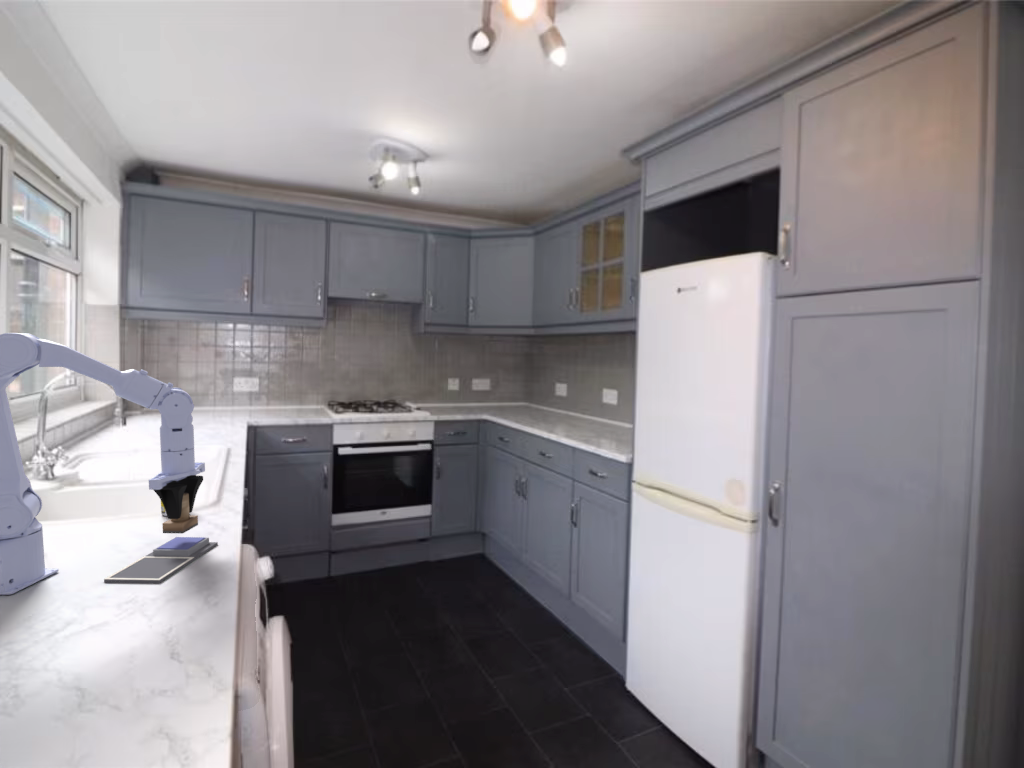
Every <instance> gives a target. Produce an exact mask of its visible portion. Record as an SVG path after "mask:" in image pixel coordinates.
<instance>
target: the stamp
mask: <svg viewBox="0 0 1024 768" xmlns="http://www.w3.org/2000/svg"><path fill="white" fill-rule="evenodd" d="M161 525H162V534H185V533H186V532H188V531H190V530H192V529H193V528H195V527H197V526H198V525H199V516H198V515H195V514H194V515H190V513H189V494H188V493H184V495H183V499H182V512H181V517H180V518H179V519H168V520H166V521H164V522H162V523H161Z"/></svg>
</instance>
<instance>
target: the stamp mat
mask: <svg viewBox="0 0 1024 768" xmlns="http://www.w3.org/2000/svg"><path fill="white" fill-rule="evenodd" d="M218 545H219V543H218V542H217V541H216V542H215V541H211V542H210V537H206V536H205V537H204V536H203V537H202V536H201V537H200V536H199V537H195V536H194V537H193V536H190V537H189V536H188V537H187V536H186V537H184V536H176V537H174V538H171V539H170V540H169V541H166V542H165V543H162V544H160V545H159V546H157V547H156V548H154V549H152V552H150V553H148V554H147V555H145V556H142V557H140V558H139V559H136V560H134V561H133V562H131V563H129V564H127V565H126V566H125V567H122V568H121V569H119V570H117V571H116V572H114V573H112V574H111V575H108V576H107V577H105V578H104V579H103V583H123V584H125V583H130V584H131V583H132V584H139V583H140V584H160V583H162V582H163V581H165V580H166V579H168V578H170V577H171V576H173V575H174V574H176V573H177V572H179V571H181V570H182V569H183V568H185V567H186V566H188V565H189V564H191V563H192V562H194V561H196V560H197V559H198V558H200V557H201V556H203V555H205V554H206V553H207V552H209V551H210V550H212V549H213V548H215V547H217V546H218Z"/></svg>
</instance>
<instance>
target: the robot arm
mask: <svg viewBox="0 0 1024 768" xmlns="http://www.w3.org/2000/svg"><path fill="white" fill-rule="evenodd" d="M36 366H38V368H64V369H67V370H69V371H73V372H75V373H77V374H80V375H82V376H85V377H88V378H90V379H94V380H95V381H98V382H101V383H104V384H107V385H109V386H111V387H112V388H113V391H114V394H115V396H117V397H119V398H121V399H125V400H126V401H129V402H131V403H134V404H136V405H139V406H140V407H144V408H145V409H148V410H151V411H152V410H158V412H159V414H160V422H161V423H160V424H161V425H160V427H159V441H160V464H161V465H160V466H161V467H160V468H161V471H160V472H158V474H156V475H154V477H151V478H150V479H148V489H149V490H150V491H151V490H153V491H154V493H156V495H157V496H158V498H159V499H160V502H161V501H162V503H163V505H164V508H165V511H166V513H167V516H166V517H167V519H168V520H170V519H179V518H180V517H181V512H182V499H183V495H184V493H188V494H189V513H192V512H193V509H194V505H195V501H196V498H197V497H196V496H197V494H198V491H199V489H200V487H201V485H202V483H203V481H204V476H203V475H199V474H201V473H204V472H206V463H205V462H195V460H196V458H195V435H194V433H195V432H194V429H195V428H194V425H193V424H192V423H193V421H194V420H193V415H192V413H193V411H194V408H195V404H194V402H193V399H192V396H191V395H190V394H189V392H187V391H185V390H183V388H181V387H174V383H172V382H169V381H168V383H166V382H163V381H162V380H159V379H157V378H155V377H153V376H150V375H148V374H149V372H148V371H147V370H145V369H140V370H137V369H134V368H131V369H126V370H123V371H121V370H119V369H116V368H115V367H112V366H110V365H108V364H106V363H103V362H102V361H100V360H98V359H96V358H93V357H91V356H89V355H87V354H85V353H82V352H81V351H78V350H76V349H74V348H73V347H70V346H67V345H64V344H61V343H59V342H55V341H52V340H49V339H45V338H40V337H38V336H37V335H34V334H31V333H25V332H21V333H20V332H19V333H18V332H5V333H1V334H0V595H4V596H7V595H13V594H15V593H18V592H20V591H22V590H23V589H25V588H27V587H30V586H32V585H33V584H35V583H38V582H40V581H42V580H43V579H45V578H48V577H50V576H51V575H54V574H56V573H58V572H59V571H60V570H59V568H46V565H45V564H46V563H45V562H46V561H45V548H44V535H43V532H44V531H43V524H42V523H41V522H40V521H38V519H37V516H38V515H39V514H40V512H41V510H42V508H43V501H42V497H40V495H39V494H38V493H37V492H35V490H34V489H33V487H32V484H31V481H30V479H29V478H28V476H27V475H26V472H25V468H24V464H23V460H22V455H21V451H20V450H21V449H20V446H19V441H18V438H17V434H16V429H15V425H14V424H15V423H14V421H13V417H12V411H11V408H10V404H9V399H8V394H7V391H6V390H7V388H8V386H10V384H12V383H13V382H14V381H15V380H17V378H18V377H19V376H20V375H21V374H22V373H24V372H26V371H28V370H31V369H33V368H34V367H36Z"/></svg>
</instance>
